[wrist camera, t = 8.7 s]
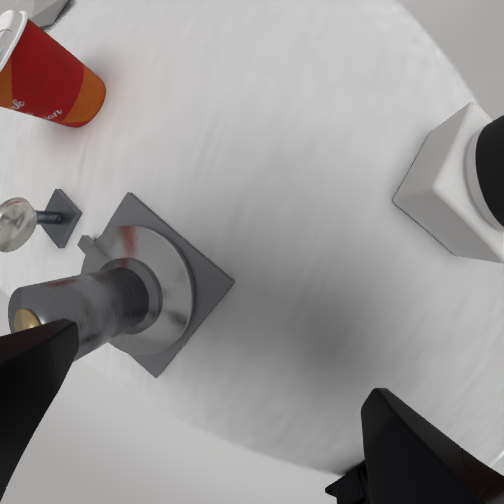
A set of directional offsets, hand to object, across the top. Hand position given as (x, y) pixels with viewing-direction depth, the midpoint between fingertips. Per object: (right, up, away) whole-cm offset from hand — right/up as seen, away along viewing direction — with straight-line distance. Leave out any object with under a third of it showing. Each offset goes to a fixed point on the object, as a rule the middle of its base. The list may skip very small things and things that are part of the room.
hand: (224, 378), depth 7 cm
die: (-28, +38, +16) cm, 50 cm away
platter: (-9, +1, +14) cm, 17 cm away
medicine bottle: (+16, +8, +11) cm, 21 cm away
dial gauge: (-17, +7, +16) cm, 24 cm away
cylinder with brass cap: (-8, 0, +13) cm, 15 cm away
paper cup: (-16, +18, +15) cm, 28 cm away
